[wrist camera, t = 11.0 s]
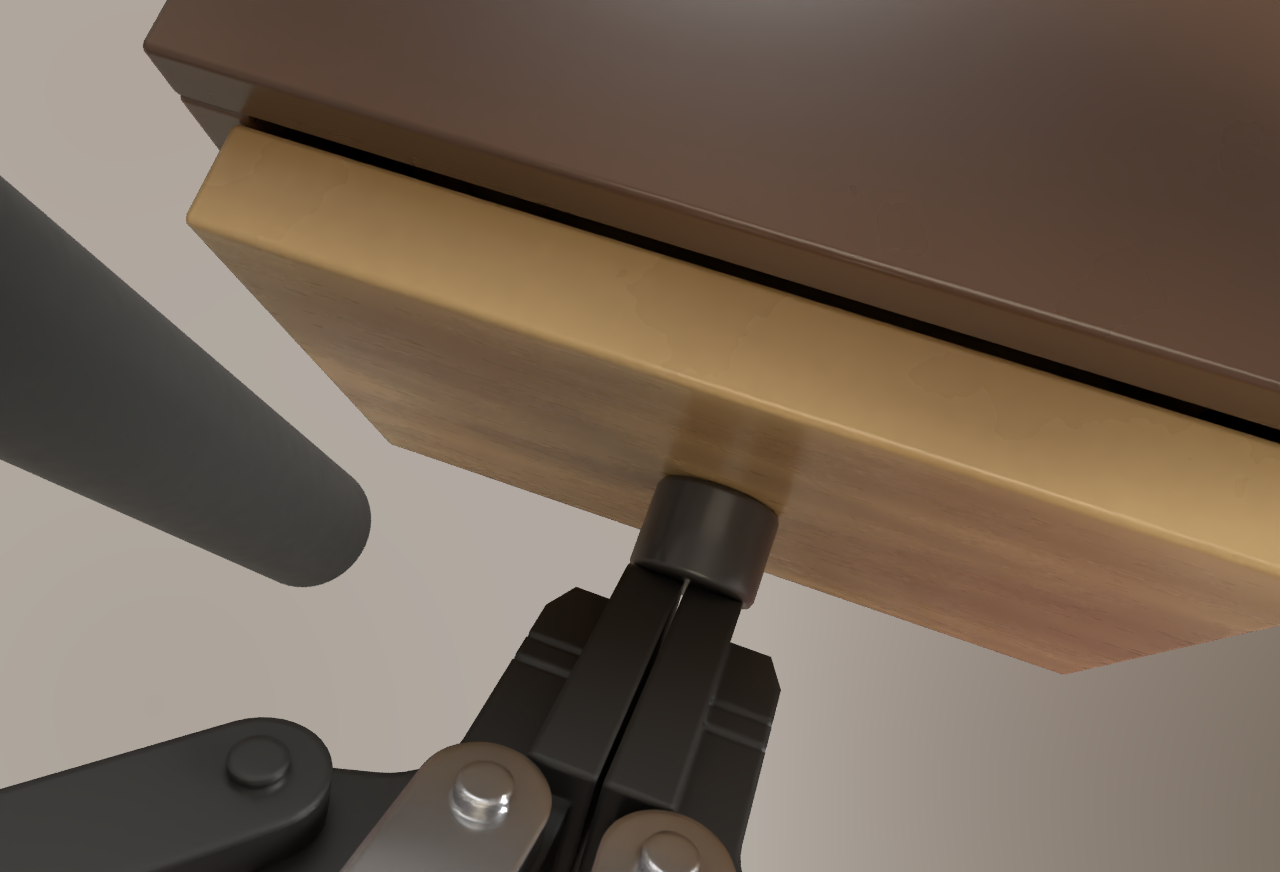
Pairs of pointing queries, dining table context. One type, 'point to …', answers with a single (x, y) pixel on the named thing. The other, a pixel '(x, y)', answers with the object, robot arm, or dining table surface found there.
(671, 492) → the wooden drawer with knob
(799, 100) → the wooden drawer box
